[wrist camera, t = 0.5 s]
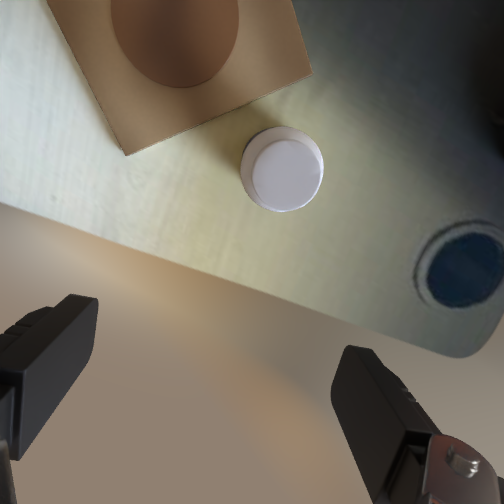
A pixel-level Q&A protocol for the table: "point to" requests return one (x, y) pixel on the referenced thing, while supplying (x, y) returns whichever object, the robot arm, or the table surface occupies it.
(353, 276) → the table surface
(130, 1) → the place mat
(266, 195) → the pill bottle
